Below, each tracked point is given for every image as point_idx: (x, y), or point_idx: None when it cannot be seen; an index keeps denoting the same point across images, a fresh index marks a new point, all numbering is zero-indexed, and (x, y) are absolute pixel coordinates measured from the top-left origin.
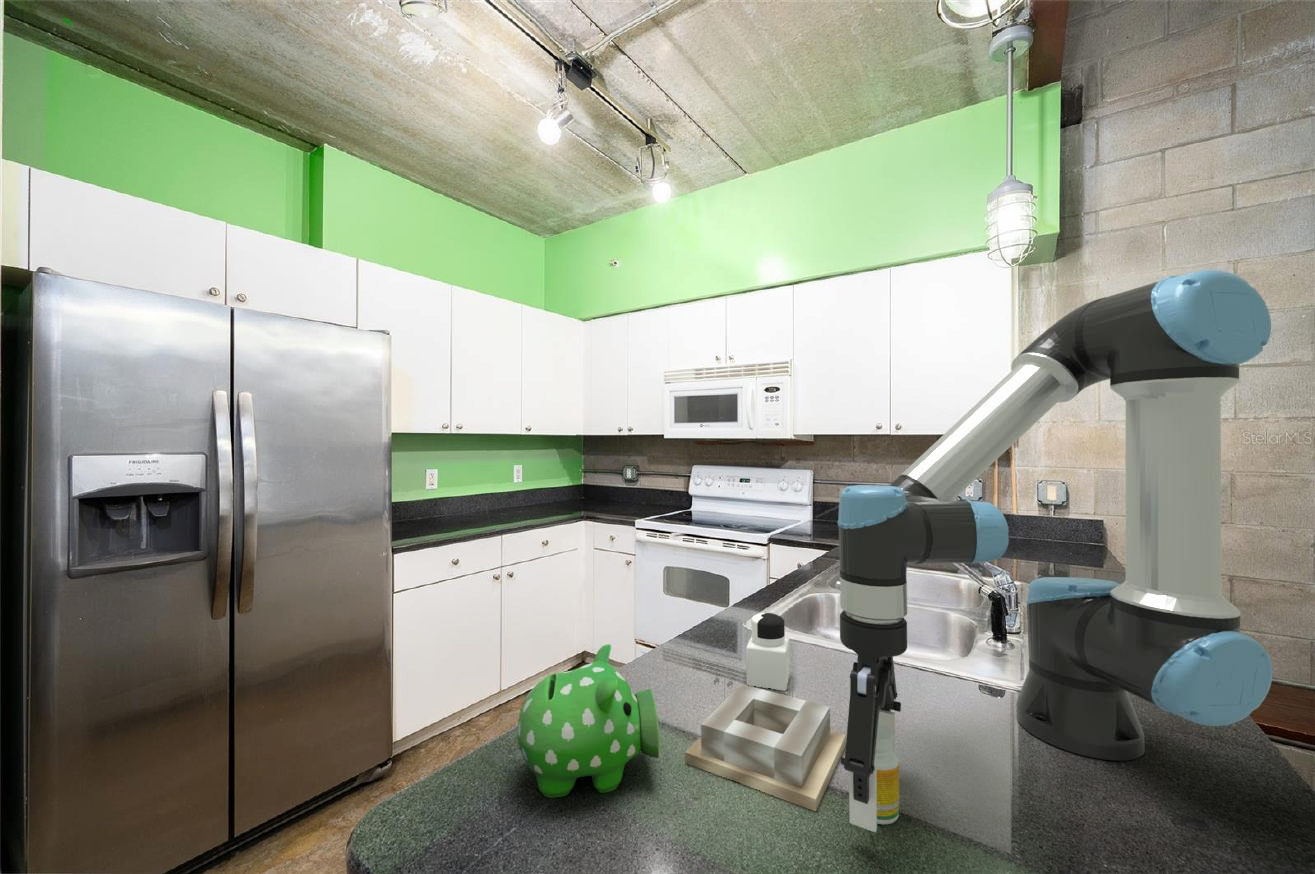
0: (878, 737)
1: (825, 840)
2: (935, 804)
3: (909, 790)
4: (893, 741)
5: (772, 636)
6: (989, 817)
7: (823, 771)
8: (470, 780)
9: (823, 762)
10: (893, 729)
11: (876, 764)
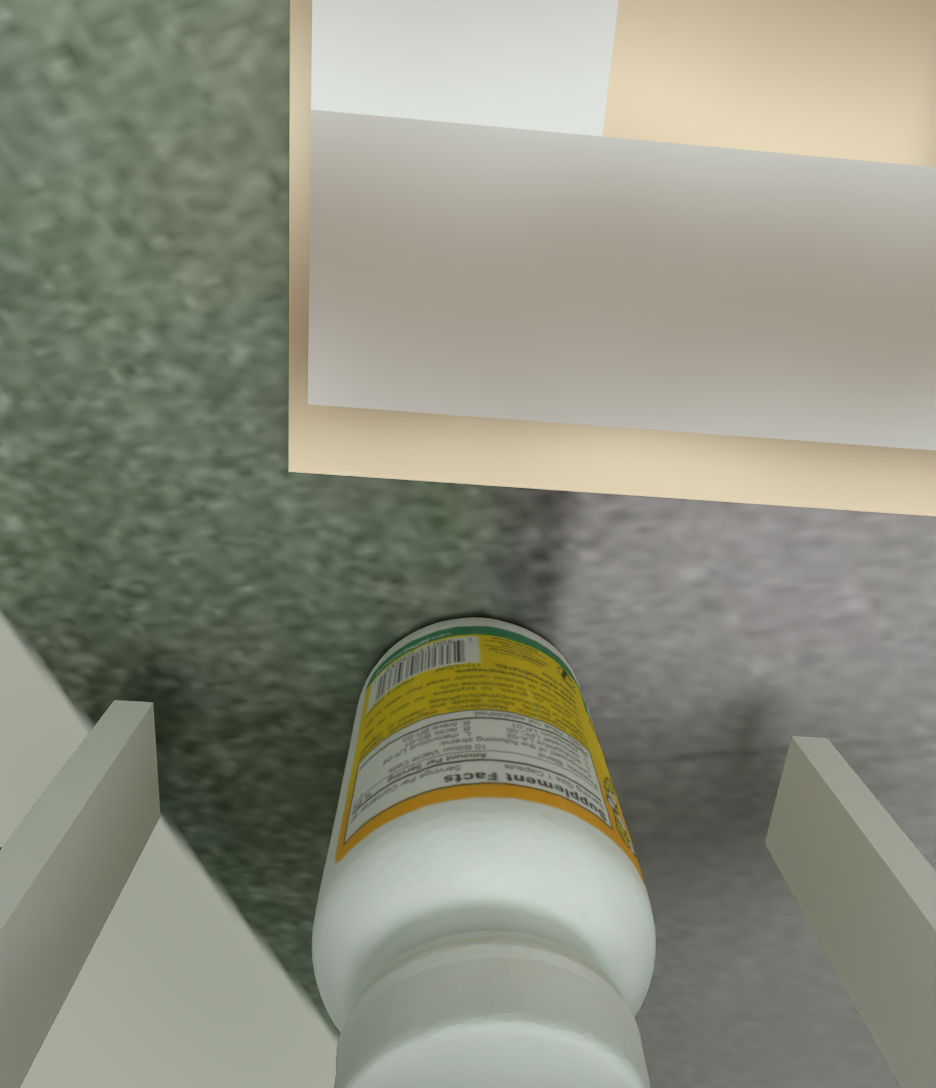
0: None
1: (116, 538)
2: None
3: (700, 833)
4: (832, 957)
5: None
6: None
7: (593, 463)
8: None
9: (697, 444)
10: (877, 1039)
11: (319, 990)
